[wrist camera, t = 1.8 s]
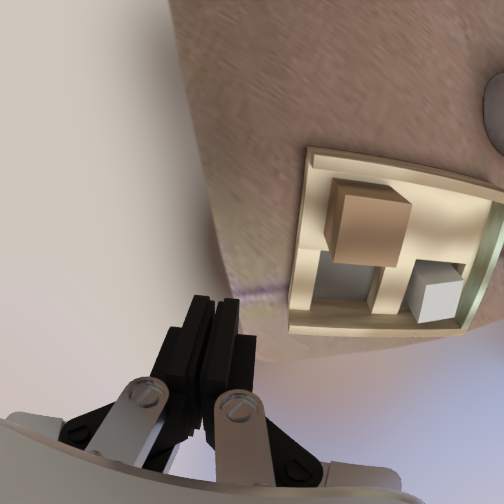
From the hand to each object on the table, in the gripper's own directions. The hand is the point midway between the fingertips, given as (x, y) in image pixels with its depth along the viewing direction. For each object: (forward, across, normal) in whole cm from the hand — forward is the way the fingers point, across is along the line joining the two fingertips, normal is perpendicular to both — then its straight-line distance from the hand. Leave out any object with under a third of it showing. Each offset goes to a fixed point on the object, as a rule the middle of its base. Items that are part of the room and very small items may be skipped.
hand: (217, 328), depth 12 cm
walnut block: (+15, -9, 0) cm, 18 cm away
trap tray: (+18, -15, +3) cm, 23 cm away
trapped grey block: (+18, -19, +7) cm, 27 cm away
